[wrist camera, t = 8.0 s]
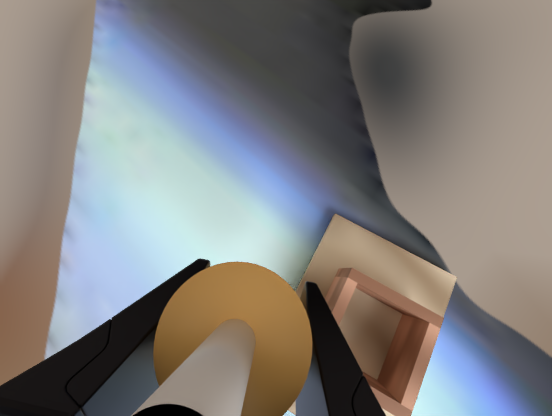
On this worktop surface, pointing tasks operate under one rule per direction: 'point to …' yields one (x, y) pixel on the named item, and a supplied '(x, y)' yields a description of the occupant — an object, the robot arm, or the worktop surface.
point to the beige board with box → (381, 308)
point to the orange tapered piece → (230, 345)
